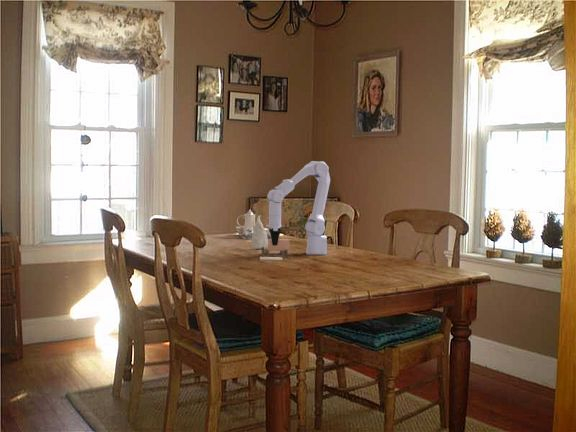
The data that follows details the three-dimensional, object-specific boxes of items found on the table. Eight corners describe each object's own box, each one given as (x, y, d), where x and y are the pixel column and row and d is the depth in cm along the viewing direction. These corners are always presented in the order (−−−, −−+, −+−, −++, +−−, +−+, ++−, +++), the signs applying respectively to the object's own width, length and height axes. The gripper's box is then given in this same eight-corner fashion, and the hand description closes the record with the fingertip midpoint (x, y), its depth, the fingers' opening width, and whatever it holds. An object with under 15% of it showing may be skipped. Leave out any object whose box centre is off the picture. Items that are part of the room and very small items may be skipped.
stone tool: (252, 250, 339) (252, 219, 338) (250, 249, 342) (250, 219, 341) (268, 249, 342) (269, 219, 341) (266, 248, 345) (267, 218, 344)
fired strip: (282, 260, 314) (282, 257, 314) (281, 261, 310) (281, 258, 310) (260, 259, 314) (260, 256, 314) (259, 260, 311) (259, 258, 311)
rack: (286, 254, 327) (286, 247, 327) (287, 257, 318) (288, 250, 318) (261, 254, 326) (261, 247, 326) (261, 257, 317) (261, 249, 317)
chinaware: (281, 240, 389) (282, 211, 389) (268, 241, 373) (269, 210, 373) (237, 237, 400) (238, 209, 400) (222, 237, 385) (224, 208, 385)
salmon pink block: (289, 249, 324) (289, 239, 324) (289, 250, 321) (289, 240, 320) (267, 249, 324) (268, 239, 323) (268, 250, 320) (268, 240, 320)
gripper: (265, 214, 328) (265, 242, 329) (266, 217, 313) (266, 246, 314) (280, 214, 328) (280, 242, 329) (282, 217, 314) (282, 246, 315)
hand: (274, 244), depth 322 cm, fingers closed on salmon pink block, 3 cm apart
